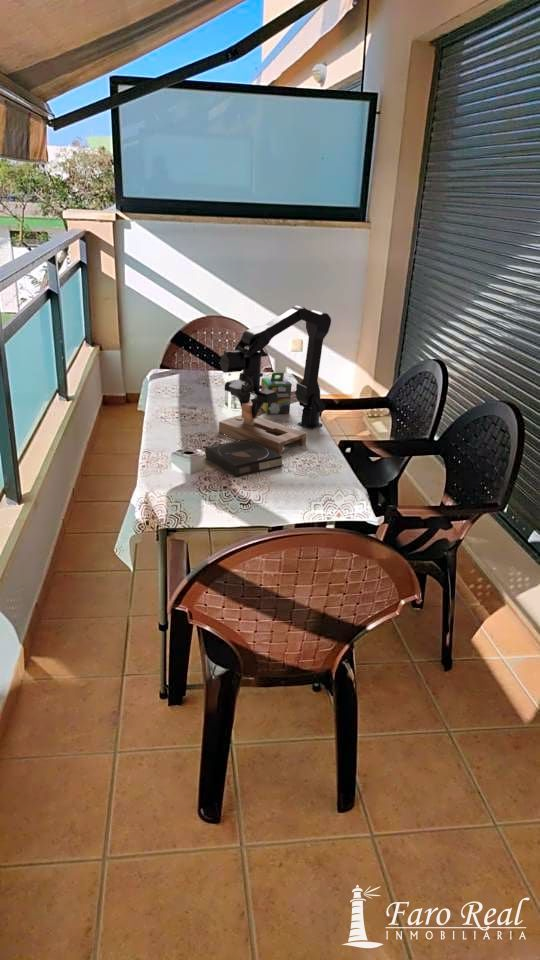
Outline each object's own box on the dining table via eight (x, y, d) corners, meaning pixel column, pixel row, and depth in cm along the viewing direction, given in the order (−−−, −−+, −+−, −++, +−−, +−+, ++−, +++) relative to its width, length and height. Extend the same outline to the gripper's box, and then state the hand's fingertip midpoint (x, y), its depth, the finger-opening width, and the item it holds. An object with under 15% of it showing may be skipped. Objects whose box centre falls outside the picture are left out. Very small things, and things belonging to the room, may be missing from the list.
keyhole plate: (246, 424, 235) (247, 412, 233) (305, 444, 220) (306, 432, 218) (218, 432, 225) (219, 420, 223) (278, 454, 210) (279, 442, 208)
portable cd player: (235, 479, 192) (236, 466, 190) (205, 459, 204) (205, 446, 203) (281, 469, 201) (282, 456, 199) (249, 450, 213) (250, 438, 212)
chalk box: (282, 406, 257) (285, 368, 251) (290, 413, 249) (293, 374, 243) (259, 407, 254) (261, 368, 248) (266, 414, 246) (269, 375, 240)
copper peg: (247, 430, 229) (249, 400, 224) (257, 433, 226) (259, 403, 222) (239, 432, 225) (240, 403, 221) (248, 436, 223) (250, 406, 219)
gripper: (213, 367, 217) (212, 413, 223) (256, 380, 206) (254, 428, 212) (237, 362, 225) (235, 407, 231) (280, 374, 214) (276, 421, 220)
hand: (249, 416), depth 223 cm, fingers closed on copper peg, 4 cm apart
